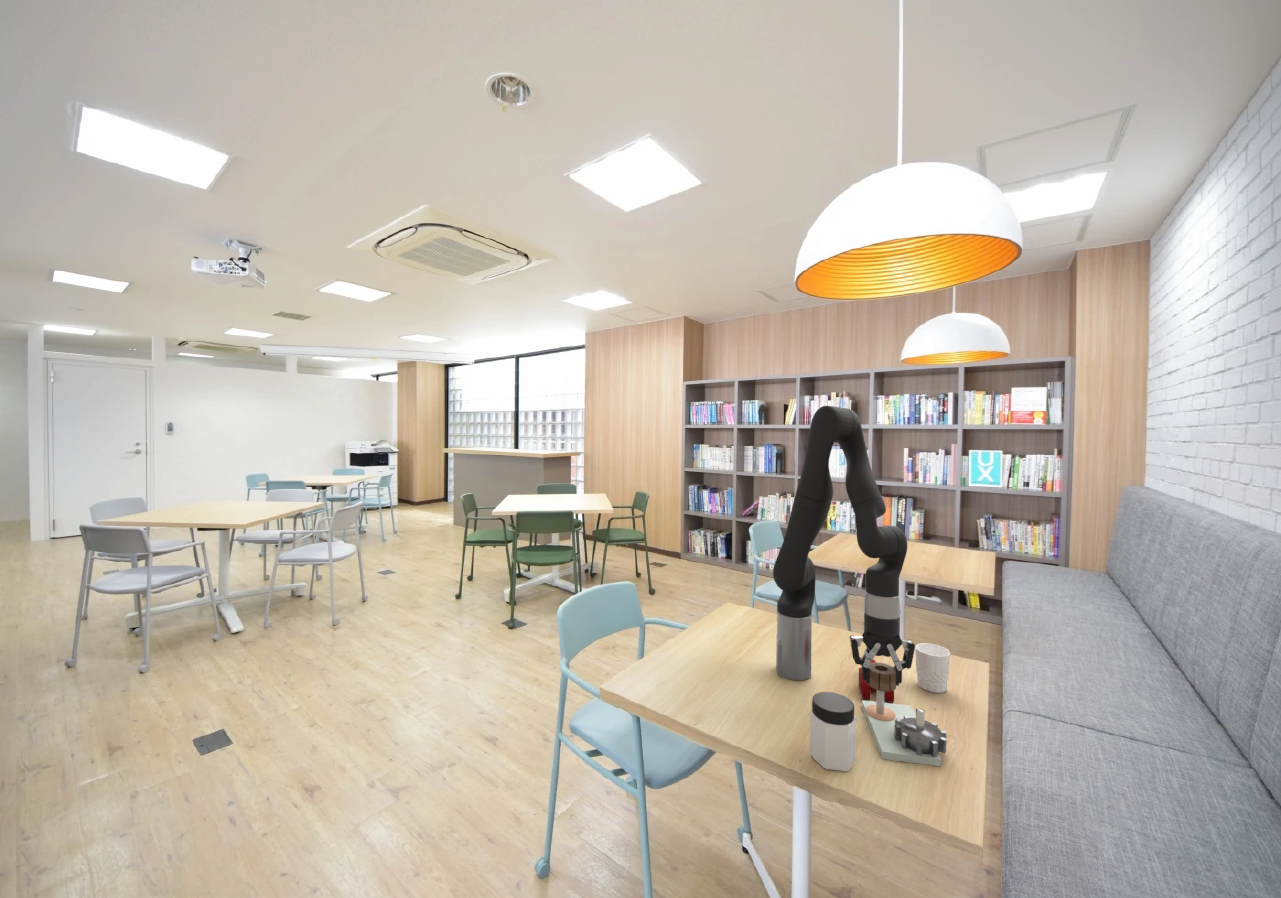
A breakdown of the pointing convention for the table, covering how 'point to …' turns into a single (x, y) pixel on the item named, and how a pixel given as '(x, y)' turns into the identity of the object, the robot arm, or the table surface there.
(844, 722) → the jar
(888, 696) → the mechanical linkage
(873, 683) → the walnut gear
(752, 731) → the table surface
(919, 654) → the white cup
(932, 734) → the fixed gear
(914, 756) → the board
